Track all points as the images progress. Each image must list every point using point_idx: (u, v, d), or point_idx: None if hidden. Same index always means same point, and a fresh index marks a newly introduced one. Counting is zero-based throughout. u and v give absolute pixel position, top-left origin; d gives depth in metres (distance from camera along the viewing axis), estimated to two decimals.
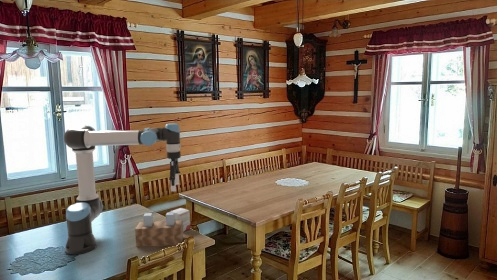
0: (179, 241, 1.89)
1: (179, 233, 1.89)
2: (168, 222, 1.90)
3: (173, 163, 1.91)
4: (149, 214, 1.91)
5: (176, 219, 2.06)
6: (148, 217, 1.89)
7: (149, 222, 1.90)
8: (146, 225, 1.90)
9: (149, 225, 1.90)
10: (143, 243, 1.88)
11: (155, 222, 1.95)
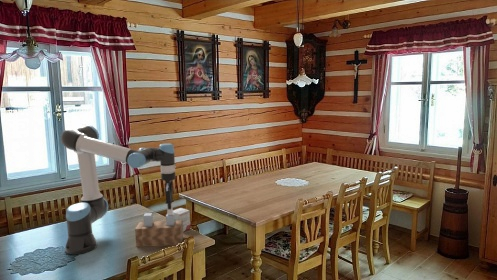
0: (179, 241, 1.89)
1: (179, 233, 1.89)
2: (168, 223, 1.91)
3: (168, 190, 1.84)
4: (149, 214, 1.91)
5: (176, 219, 2.06)
6: (148, 217, 1.89)
7: (149, 222, 1.90)
8: (146, 225, 1.90)
9: (149, 225, 1.90)
10: (143, 243, 1.88)
11: (155, 222, 1.95)
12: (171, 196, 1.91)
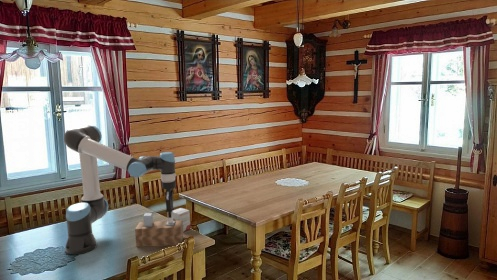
0: (179, 241, 1.89)
1: (179, 233, 1.89)
2: None
3: (168, 198, 1.85)
4: (149, 214, 1.91)
5: (176, 219, 2.06)
6: (148, 217, 1.89)
7: (149, 222, 1.90)
8: (146, 225, 1.90)
9: (149, 225, 1.90)
10: (143, 243, 1.88)
11: (155, 222, 1.95)
12: (171, 204, 1.92)
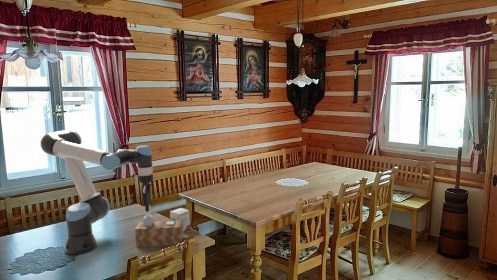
0: (179, 241, 1.89)
1: (179, 233, 1.89)
2: None
3: (145, 192, 1.83)
4: None
5: (176, 219, 2.06)
6: (148, 219, 1.90)
7: (149, 224, 1.90)
8: None
9: None
10: (143, 243, 1.88)
11: (155, 222, 1.95)
12: (149, 198, 1.91)
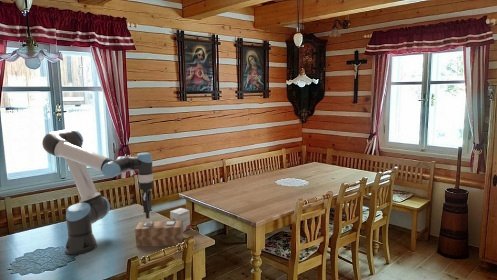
0: (179, 241, 1.89)
1: (179, 233, 1.89)
2: None
3: (145, 199, 1.84)
4: None
5: (176, 219, 2.06)
6: (149, 226, 1.90)
7: None
8: None
9: None
10: (143, 243, 1.88)
11: (155, 222, 1.95)
12: (149, 205, 1.91)
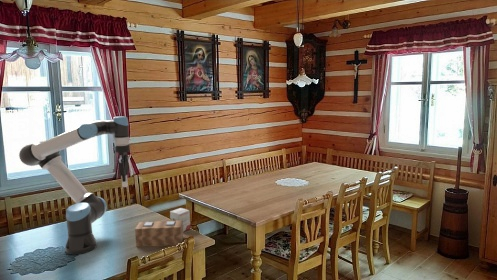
0: (179, 241, 1.89)
1: (179, 233, 1.89)
2: None
3: (121, 161, 1.86)
4: (150, 223, 1.92)
5: (176, 219, 2.06)
6: (149, 226, 1.90)
7: None
8: None
9: None
10: (143, 243, 1.88)
11: (155, 222, 1.95)
12: (126, 169, 1.94)
